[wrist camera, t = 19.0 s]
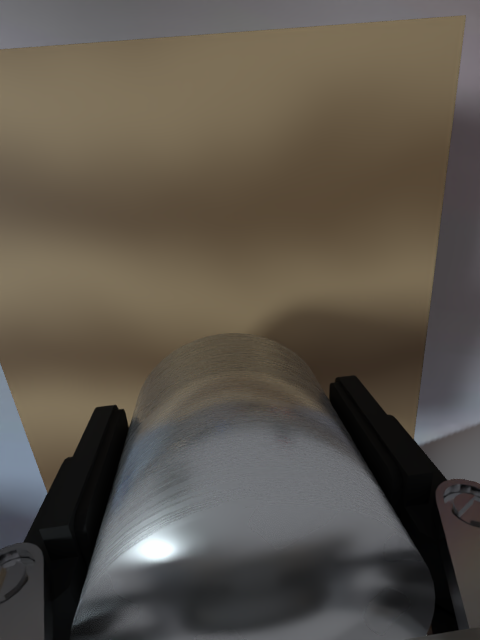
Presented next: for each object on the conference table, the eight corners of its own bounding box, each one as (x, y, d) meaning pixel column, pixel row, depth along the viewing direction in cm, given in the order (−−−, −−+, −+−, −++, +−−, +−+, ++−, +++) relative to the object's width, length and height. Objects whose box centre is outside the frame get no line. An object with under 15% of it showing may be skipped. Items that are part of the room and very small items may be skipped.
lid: (-89, 65, 11) (-111, 57, 10) (449, 26, 12) (466, 15, 11) (80, 554, 19) (75, 569, 19) (394, 521, 20) (402, 534, 19)
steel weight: (116, 346, 10) (18, 541, 5) (323, 322, 11) (459, 476, 5) (152, 503, 12) (113, 764, 7) (322, 478, 13) (416, 706, 7)
